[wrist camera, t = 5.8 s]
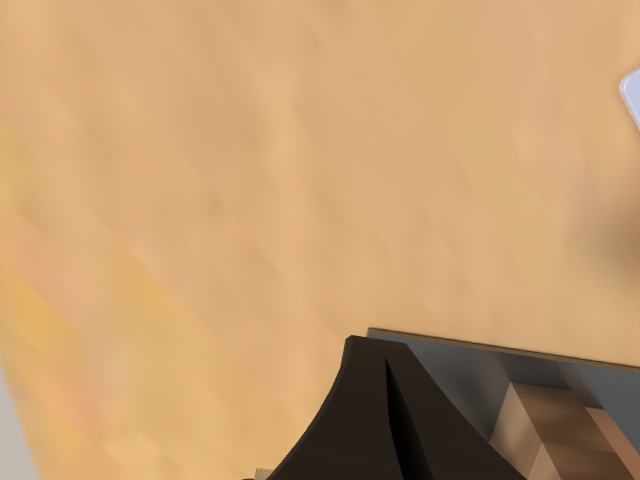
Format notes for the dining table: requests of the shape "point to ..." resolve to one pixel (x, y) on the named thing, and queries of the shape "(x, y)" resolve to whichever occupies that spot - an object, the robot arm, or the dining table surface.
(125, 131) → the dining table surface
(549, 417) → the bearing block
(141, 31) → the dining table surface
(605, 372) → the base plate
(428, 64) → the dining table surface
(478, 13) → the dining table surface
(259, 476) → the crank handle
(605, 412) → the collar
